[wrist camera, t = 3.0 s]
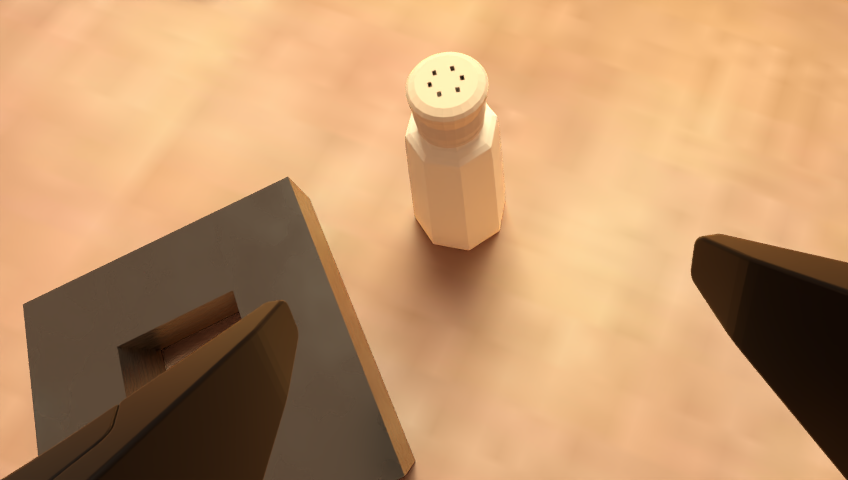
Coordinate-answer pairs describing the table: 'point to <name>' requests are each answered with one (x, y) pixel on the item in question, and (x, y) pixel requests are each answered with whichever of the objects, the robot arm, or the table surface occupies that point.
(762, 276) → the robot arm
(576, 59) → the table surface
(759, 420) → the table surface
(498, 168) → the pepper shaker
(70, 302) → the holder block
